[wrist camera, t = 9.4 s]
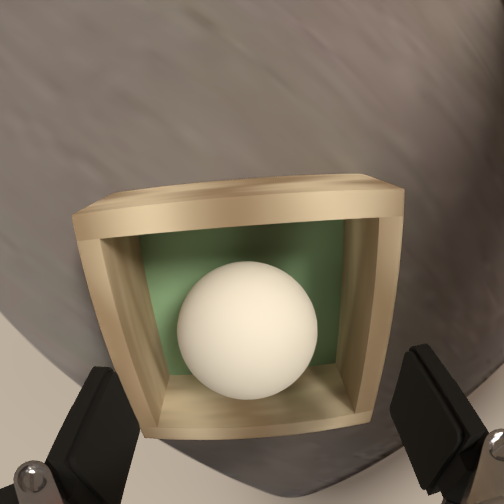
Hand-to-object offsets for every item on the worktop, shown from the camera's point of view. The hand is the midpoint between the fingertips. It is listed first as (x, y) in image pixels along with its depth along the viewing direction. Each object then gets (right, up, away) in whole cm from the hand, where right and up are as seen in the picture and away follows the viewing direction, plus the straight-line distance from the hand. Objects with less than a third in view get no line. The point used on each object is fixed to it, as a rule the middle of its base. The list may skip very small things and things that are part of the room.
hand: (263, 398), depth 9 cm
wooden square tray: (-1, +2, +7) cm, 8 cm away
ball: (-1, +1, +4) cm, 5 cm away
